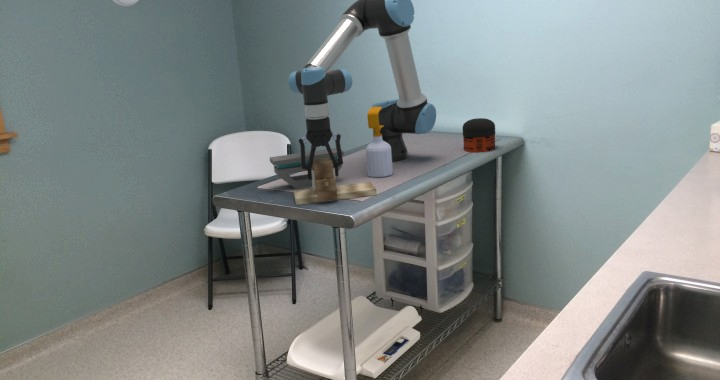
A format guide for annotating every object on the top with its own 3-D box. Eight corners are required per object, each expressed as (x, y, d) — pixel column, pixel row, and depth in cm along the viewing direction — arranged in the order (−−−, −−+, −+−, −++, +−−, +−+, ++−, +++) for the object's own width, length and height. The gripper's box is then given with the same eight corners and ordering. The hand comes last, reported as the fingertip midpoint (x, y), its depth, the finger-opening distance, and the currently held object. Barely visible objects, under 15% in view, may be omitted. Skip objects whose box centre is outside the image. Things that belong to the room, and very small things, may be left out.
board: (371, 187, 210) (370, 181, 209) (376, 194, 200) (376, 189, 199) (294, 197, 206) (293, 191, 205) (296, 205, 196) (295, 199, 196)
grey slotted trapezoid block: (277, 192, 214) (273, 161, 211) (273, 187, 221) (269, 157, 218) (346, 181, 221) (343, 151, 218) (340, 176, 228) (337, 147, 225)
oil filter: (488, 153, 245) (500, 146, 255) (487, 122, 242) (499, 116, 252) (458, 151, 252) (470, 145, 262) (457, 122, 249) (469, 116, 259)
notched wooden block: (333, 191, 206) (329, 157, 202) (337, 200, 195) (334, 164, 192) (315, 194, 205) (311, 159, 202) (318, 202, 194) (314, 166, 191)
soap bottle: (396, 171, 228) (391, 105, 221) (387, 178, 220) (382, 109, 213) (374, 171, 232) (369, 105, 225) (364, 177, 224) (358, 109, 217)
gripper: (345, 112, 200) (351, 181, 207) (286, 118, 198) (294, 188, 204) (348, 115, 193) (355, 186, 199) (288, 122, 191) (296, 194, 197)
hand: (324, 187), depth 202 cm, fingers closed on notched wooden block, 6 cm apart
